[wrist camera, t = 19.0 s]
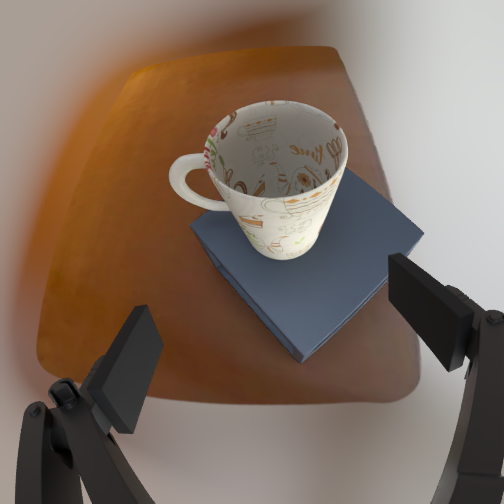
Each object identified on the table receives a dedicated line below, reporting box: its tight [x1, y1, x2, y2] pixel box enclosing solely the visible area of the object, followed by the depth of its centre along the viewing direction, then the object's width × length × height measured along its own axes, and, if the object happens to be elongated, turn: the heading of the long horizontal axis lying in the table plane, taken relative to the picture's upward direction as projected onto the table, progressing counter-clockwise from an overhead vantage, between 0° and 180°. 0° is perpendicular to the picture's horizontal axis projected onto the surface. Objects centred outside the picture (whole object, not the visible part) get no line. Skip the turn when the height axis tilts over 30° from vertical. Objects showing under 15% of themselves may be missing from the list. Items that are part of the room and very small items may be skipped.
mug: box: [169, 101, 348, 260], centre depth 21 cm, size 8×13×10 cm, turn 81°
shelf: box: [190, 167, 424, 364], centre depth 29 cm, size 15×15×9 cm
